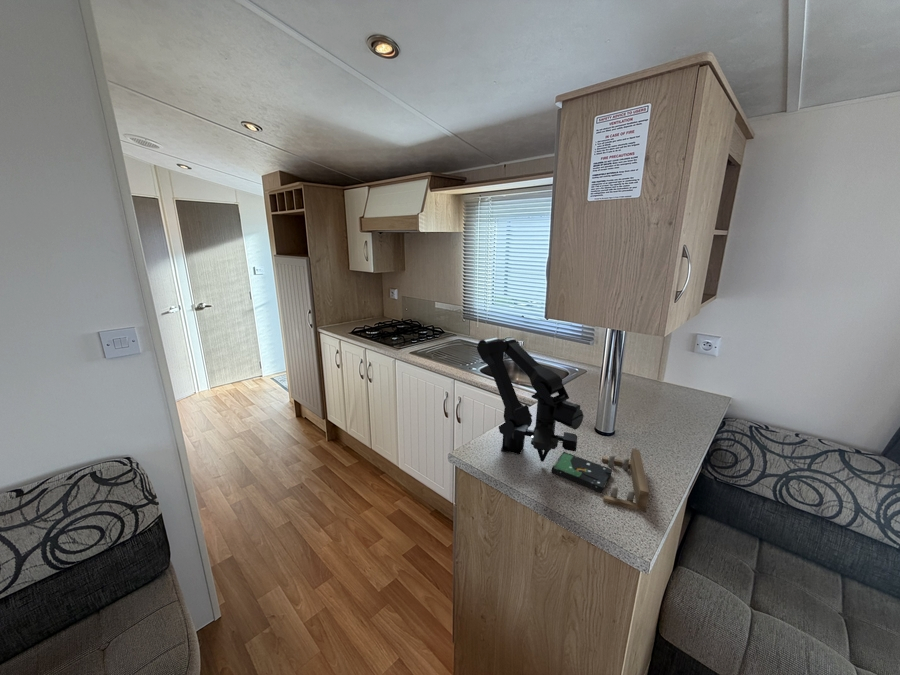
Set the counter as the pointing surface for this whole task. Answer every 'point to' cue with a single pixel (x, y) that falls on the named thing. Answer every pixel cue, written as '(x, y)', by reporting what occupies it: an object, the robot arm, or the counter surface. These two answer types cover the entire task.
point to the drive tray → (637, 480)
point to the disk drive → (582, 472)
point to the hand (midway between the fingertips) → (542, 460)
